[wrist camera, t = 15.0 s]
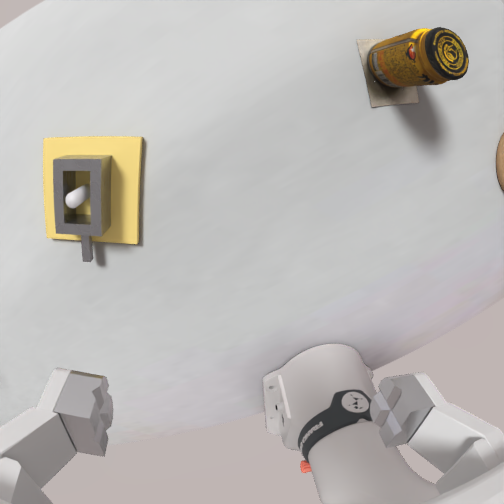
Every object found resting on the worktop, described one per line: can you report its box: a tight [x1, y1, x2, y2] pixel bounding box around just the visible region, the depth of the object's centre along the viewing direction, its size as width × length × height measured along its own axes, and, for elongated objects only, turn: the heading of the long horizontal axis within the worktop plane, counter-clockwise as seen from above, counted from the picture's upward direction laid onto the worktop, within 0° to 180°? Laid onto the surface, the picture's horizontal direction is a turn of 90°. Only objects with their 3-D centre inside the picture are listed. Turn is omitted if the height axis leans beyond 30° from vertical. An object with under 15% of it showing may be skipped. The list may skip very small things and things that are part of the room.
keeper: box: [43, 136, 143, 244], centre depth 31 cm, size 12×12×6 cm
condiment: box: [357, 27, 469, 107], centre depth 26 cm, size 7×8×12 cm
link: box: [53, 155, 112, 262], centre depth 31 cm, size 12×6×4 cm, turn 173°
